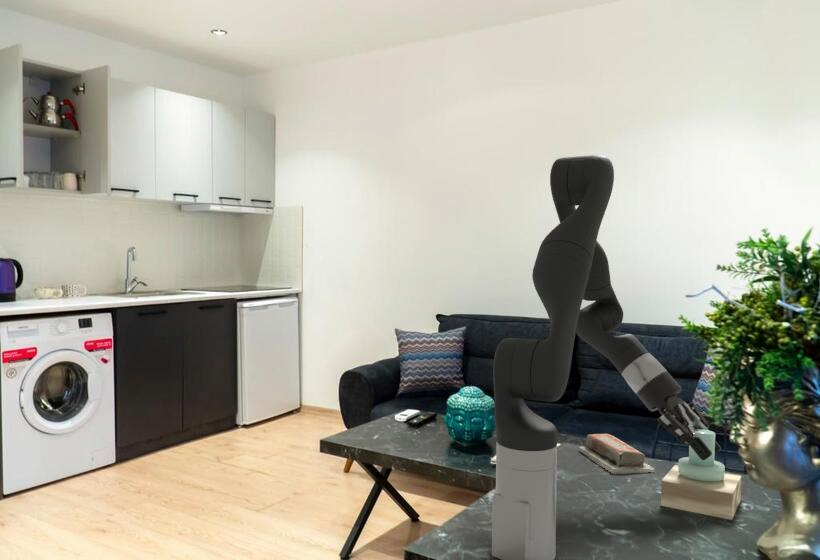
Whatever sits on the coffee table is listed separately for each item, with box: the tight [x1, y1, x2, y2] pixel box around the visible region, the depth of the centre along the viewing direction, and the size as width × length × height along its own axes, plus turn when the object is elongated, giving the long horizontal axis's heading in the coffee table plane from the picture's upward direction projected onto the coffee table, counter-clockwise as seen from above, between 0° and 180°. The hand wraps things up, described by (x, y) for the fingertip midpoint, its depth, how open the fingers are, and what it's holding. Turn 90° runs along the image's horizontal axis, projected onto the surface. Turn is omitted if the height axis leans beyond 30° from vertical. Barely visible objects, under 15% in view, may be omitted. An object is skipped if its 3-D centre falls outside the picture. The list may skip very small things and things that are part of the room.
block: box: [660, 464, 742, 521], centre depth 124 cm, size 12×12×5 cm
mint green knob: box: [677, 429, 726, 481], centre depth 124 cm, size 8×8×8 cm
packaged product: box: [578, 433, 656, 475], centre depth 150 cm, size 18×5×10 cm
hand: (712, 454), depth 122 cm, fingers closed on mint green knob, 4 cm apart
